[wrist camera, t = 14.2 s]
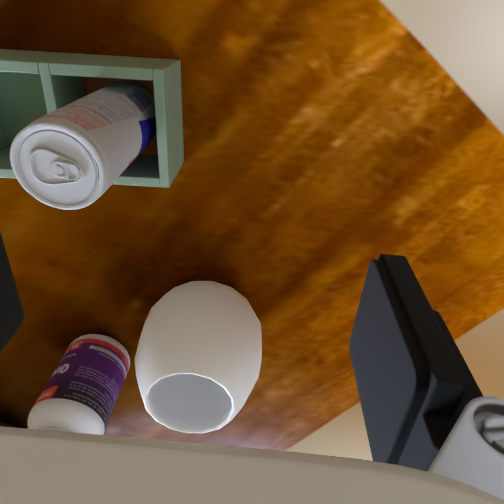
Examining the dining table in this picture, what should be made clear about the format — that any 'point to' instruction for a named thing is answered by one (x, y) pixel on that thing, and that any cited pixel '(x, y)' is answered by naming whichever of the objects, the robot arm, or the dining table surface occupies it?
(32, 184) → the beverage can
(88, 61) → the box
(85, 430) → the pill bottle
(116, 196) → the dining table surface
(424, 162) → the dining table surface
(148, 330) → the white vase
